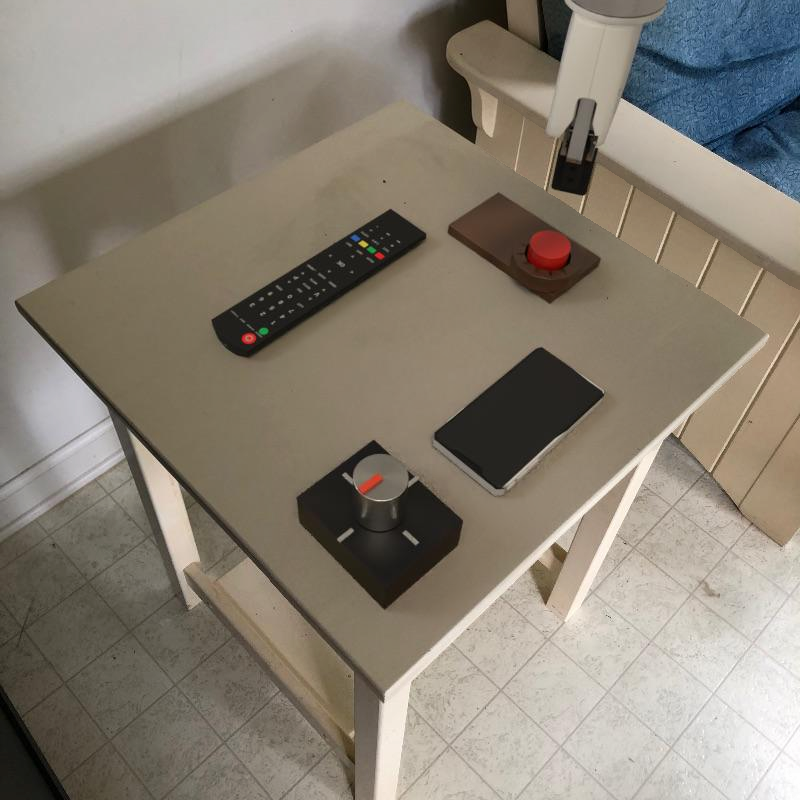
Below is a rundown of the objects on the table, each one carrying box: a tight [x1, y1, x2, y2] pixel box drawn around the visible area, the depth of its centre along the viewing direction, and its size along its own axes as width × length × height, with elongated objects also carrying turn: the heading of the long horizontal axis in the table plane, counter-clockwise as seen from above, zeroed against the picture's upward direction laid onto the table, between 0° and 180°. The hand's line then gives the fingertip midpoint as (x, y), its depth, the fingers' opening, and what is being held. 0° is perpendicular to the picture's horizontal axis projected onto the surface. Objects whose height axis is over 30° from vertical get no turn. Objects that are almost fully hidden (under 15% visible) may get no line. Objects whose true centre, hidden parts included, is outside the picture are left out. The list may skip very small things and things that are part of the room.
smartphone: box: [432, 346, 606, 497], centre depth 72 cm, size 8×1×15 cm
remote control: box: [210, 208, 427, 357], centre depth 81 cm, size 5×24×1 cm, turn 135°
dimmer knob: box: [353, 454, 409, 532], centre depth 60 cm, size 4×4×5 cm
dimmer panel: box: [296, 439, 464, 610], centre depth 64 cm, size 10×8×4 cm
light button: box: [527, 231, 571, 271], centre depth 81 cm, size 4×4×2 cm
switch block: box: [447, 192, 602, 305], centre depth 85 cm, size 14×9×3 cm, turn 45°
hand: (569, 187), depth 74 cm, fingers closed
